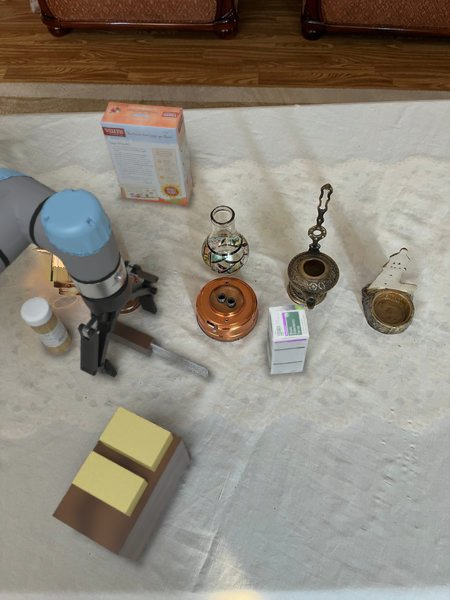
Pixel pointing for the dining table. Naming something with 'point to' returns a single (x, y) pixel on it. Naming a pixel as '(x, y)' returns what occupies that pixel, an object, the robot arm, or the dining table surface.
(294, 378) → the dining table surface
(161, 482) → the butter stand
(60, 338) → the sprinkles bottle
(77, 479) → the butter slice
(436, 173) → the dining table surface
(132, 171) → the cracker box
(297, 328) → the syrup box
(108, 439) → the butter block
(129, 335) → the knife
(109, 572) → the dining table surface
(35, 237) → the robot arm
